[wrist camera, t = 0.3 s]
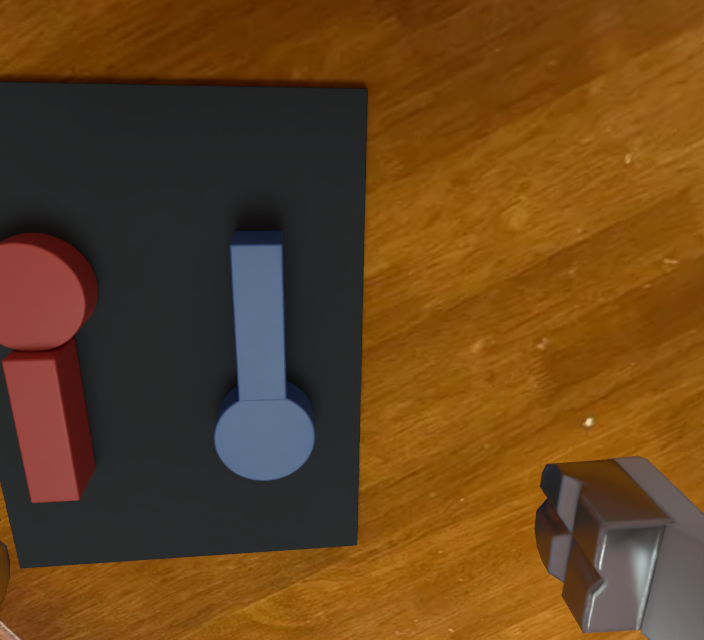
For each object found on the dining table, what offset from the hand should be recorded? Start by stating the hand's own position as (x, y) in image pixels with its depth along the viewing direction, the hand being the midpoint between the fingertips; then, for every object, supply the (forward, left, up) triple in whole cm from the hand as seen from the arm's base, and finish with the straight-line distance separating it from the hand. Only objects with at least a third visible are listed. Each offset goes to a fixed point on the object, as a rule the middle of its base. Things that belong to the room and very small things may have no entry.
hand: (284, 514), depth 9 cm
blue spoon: (+4, -1, -15) cm, 15 cm away
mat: (+4, -4, -15) cm, 16 cm away
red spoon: (+4, -9, -15) cm, 18 cm away
